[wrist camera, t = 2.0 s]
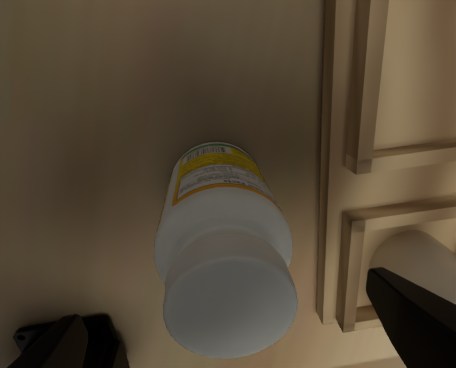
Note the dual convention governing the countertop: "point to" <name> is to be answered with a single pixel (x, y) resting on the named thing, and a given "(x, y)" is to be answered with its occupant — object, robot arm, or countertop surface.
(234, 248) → the supplement bottle
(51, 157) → the countertop surface
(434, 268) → the white rounded rod
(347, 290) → the caddy
